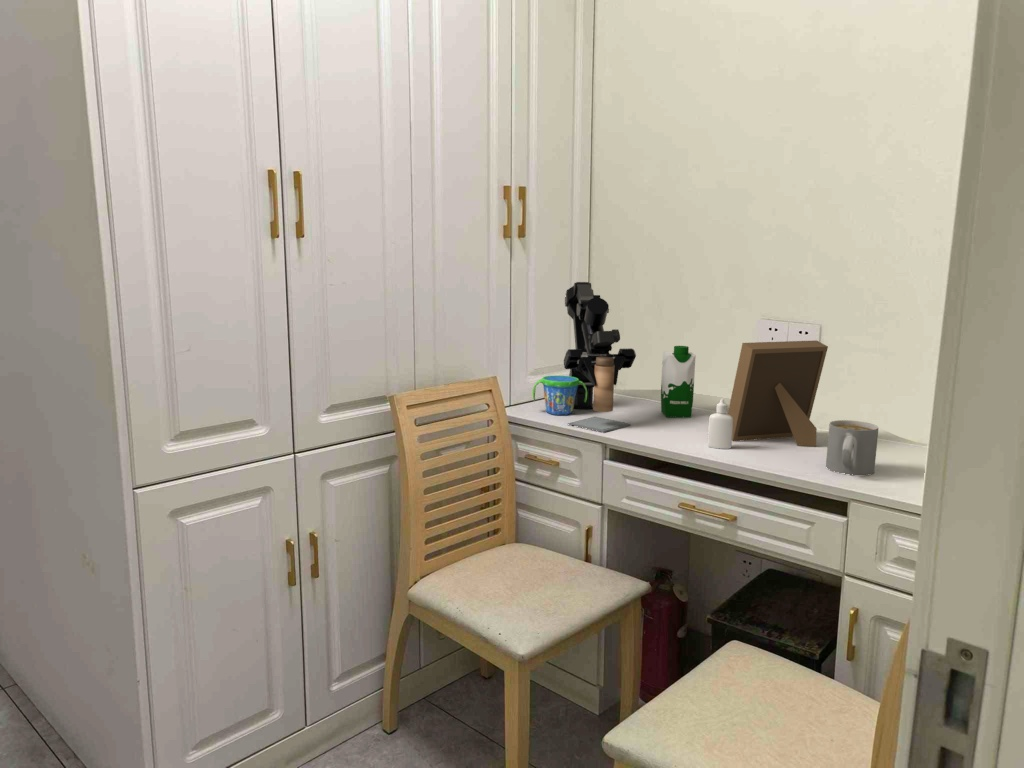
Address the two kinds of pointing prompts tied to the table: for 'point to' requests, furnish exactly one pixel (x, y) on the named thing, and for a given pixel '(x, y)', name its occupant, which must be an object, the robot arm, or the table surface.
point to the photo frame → (776, 390)
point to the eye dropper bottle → (720, 428)
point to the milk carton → (677, 382)
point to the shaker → (604, 384)
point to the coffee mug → (852, 447)
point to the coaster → (599, 424)
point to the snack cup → (560, 393)
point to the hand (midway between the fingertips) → (605, 384)
